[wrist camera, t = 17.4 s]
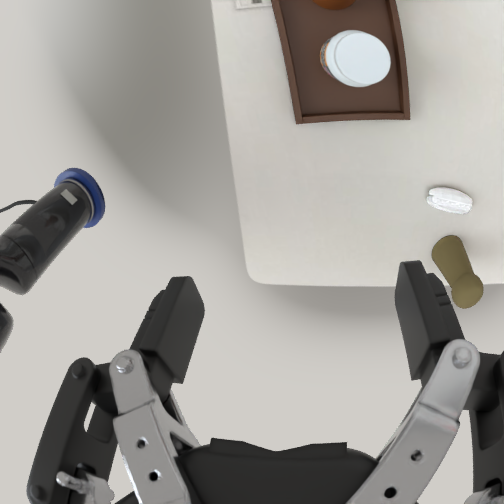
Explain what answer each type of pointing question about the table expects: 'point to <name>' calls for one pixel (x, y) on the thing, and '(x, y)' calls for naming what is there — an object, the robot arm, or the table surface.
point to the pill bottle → (355, 58)
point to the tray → (320, 82)
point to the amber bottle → (334, 4)
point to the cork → (457, 271)
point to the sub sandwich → (449, 200)
